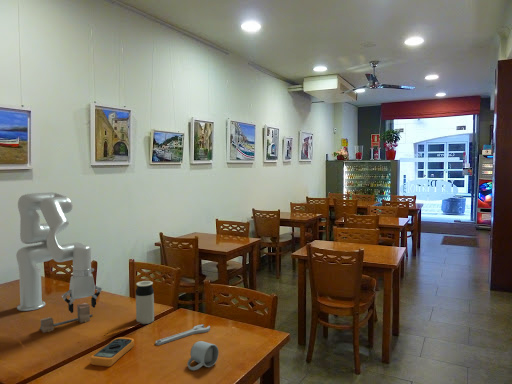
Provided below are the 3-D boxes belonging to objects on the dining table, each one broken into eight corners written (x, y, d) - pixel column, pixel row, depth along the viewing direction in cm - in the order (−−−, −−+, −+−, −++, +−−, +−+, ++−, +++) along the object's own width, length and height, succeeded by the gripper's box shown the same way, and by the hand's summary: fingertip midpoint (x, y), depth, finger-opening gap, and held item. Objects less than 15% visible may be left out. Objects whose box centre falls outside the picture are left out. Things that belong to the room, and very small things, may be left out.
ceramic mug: (203, 355, 145) (202, 335, 145) (219, 362, 140) (218, 341, 140) (182, 367, 137) (181, 346, 136) (198, 374, 132) (197, 353, 131)
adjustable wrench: (157, 347, 153) (157, 343, 153) (151, 341, 159) (151, 337, 158) (211, 331, 168) (211, 327, 168) (204, 326, 173) (204, 322, 173)
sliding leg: (77, 320, 176) (77, 304, 176) (86, 318, 179) (86, 302, 179) (81, 323, 173) (80, 307, 172) (90, 321, 176) (90, 305, 175)
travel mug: (157, 319, 181) (157, 281, 180) (146, 325, 173) (145, 286, 172) (144, 316, 184) (143, 279, 183) (132, 322, 177) (131, 284, 176)
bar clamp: (40, 329, 167) (39, 318, 167) (91, 316, 182) (91, 306, 182) (43, 333, 163) (43, 322, 162) (96, 320, 178) (96, 309, 177)
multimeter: (136, 346, 154) (136, 337, 154) (110, 368, 137) (110, 359, 136) (117, 344, 156) (117, 335, 156) (89, 366, 138) (88, 356, 138)
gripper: (98, 267, 184) (98, 302, 185) (59, 274, 172) (59, 311, 173) (104, 271, 178) (104, 307, 179) (64, 278, 166) (65, 316, 168)
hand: (82, 309), depth 176 cm, fingers open, 9 cm apart
